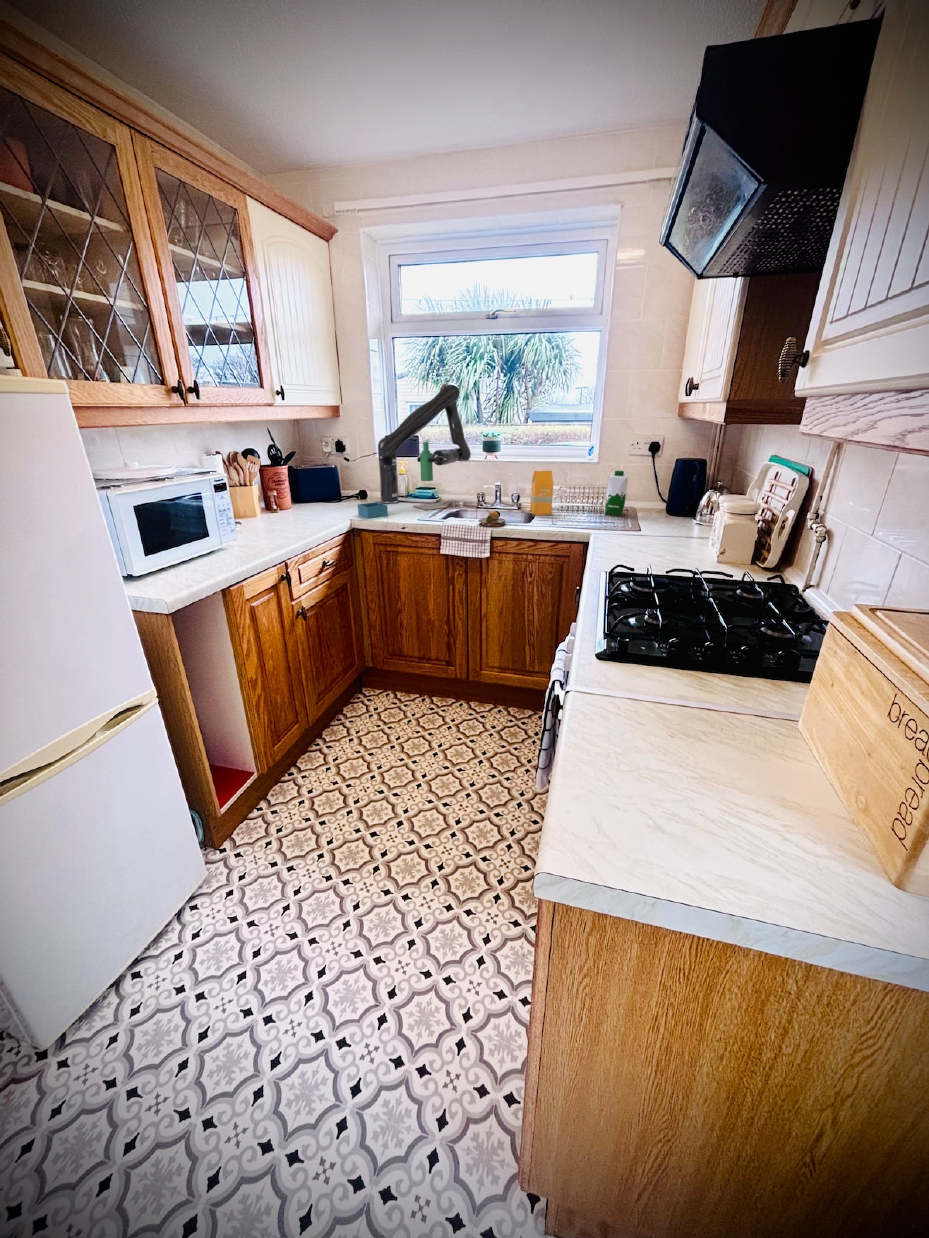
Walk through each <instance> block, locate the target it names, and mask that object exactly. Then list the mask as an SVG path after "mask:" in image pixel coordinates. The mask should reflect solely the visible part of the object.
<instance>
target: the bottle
mask: <svg viewBox="0 0 929 1238" xmlns="http://www.w3.org/2000/svg"><path fill="white" fill-rule="evenodd" d="M422 443H423V444H422V449H423V450H421V452H419V457H420V462H419V464H420V465H419V466H420V481H421V482H432V481H433V480H434V476H433V475H434V471H433V469H434V468H433V465H434V464H433V462H431V463H428V458H432V454H433V453H432V452H431V450H429V449H430V447H429V443H430V440H429V439H427V438H425V439H422Z"/></svg>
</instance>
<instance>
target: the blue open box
mask: <svg viewBox="0 0 929 1238" xmlns="http://www.w3.org/2000/svg"><path fill="white" fill-rule="evenodd" d="M357 512H358V513H357V514H358V516H360V517H362V518H364V519H368V520H369V519H376V518H384V517H388V516H389V511H388V504H386V503H382V502H378V501H376V502H375V501H374V502H367V503H358V504H357Z"/></svg>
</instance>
